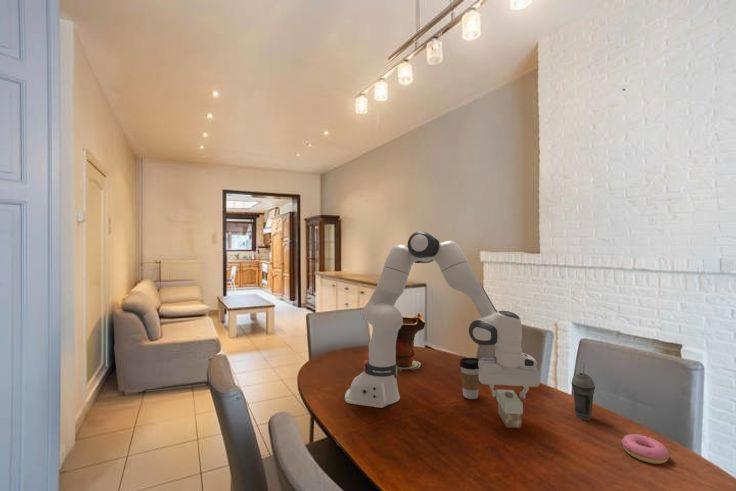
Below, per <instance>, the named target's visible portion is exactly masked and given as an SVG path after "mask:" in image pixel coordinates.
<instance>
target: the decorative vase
mask: <svg viewBox="0 0 736 491" xmlns="http://www.w3.org/2000/svg"><path fill="white" fill-rule="evenodd" d="M402 317H403V323H402V326H401V328H400V329H399V331H398V335H397V340H396V363H397V371H402V370H406V371H409V370H416V369H420V367H421V364H422V363H421V362H419V361H417V360H415V359H414V357H415V354H416V353H415V348H414V346H415V344H414V343H415V337H416V334H418V332H420V331H422V330H424V328H425V326H426V321H425V320H424V317H423V314H422V313H421V312H418V313H417V314H416V316H408V315H407V316H403V315H402Z"/></svg>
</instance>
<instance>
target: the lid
mask: <svg viewBox="0 0 736 491" xmlns="http://www.w3.org/2000/svg"><path fill="white" fill-rule="evenodd" d="M496 391H497V397H496V400H497V403H498V402H499V404H500V406H501V407H502V409H503V411H504V412H505V413H509V414H521V415H523V414H524V408H523V407H524V405H523V404H524V403H523V401H522V400H521V398H520V397H519V396H518V395H517V394H516V392H515V391H514V390H513V389H496Z"/></svg>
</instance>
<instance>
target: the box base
mask: <svg viewBox="0 0 736 491" xmlns="http://www.w3.org/2000/svg"><path fill="white" fill-rule="evenodd" d="M497 406H498V408H497V413H498V415H499V418H500V419H501V421H502V423H503V425H504V426H505V428H508V429H509V428H510V429H521V428H522V414H509V413H505V412H504V411H503V409H502V407H501V406H500V404H499V402H498V401H497Z"/></svg>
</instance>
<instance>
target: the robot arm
mask: <svg viewBox="0 0 736 491" xmlns="http://www.w3.org/2000/svg"><path fill="white" fill-rule="evenodd" d="M432 262H436V264H437V265H438V267H439V268H440V271H441V274H442V276H443V278H444V280H445V282H446V283H447V284H448V286H449V287H450V288H451V289H453V290H456V291H458V292H461V293H463V294H465V295H467V296H468V297H469V298H470V299H471V301H472V303H473V305H474V306H475V308H476V310H477V312H478V313H479V315H480V317H479V318H476V319H474V320H473V321H472V322H470V324H469V326H468V335H469V337H470V339H471V340H472V341H473V343H475V344H477V345H478V346H494V347H495V348H494V352H495V353H494V355H495V356H494V357H493V356H489V357H487V356H482V357H480V358H478V359H479V361H478V367H479V376H478V378H479V383H480V384H481V385H488V387H489V388H490V390H491V396H492V397H493V398H497V389H496V390H494V388H495V386H510V387H511V386H512V387H513V386H514V387H522V388H523V389H522V390H521V391H519V399H524V400H525V399H526V394H527V393H528V391H529V390H530V388H531V387H533V388H537V387H539V386H540V385H541V375H540V371H539V368H538V367H537V365H538V362H537V360H536V359H535V358H534V357H533V356H531V355H529V354H527V353H524V352H523V349H522V340H523V328H522V321H521V317H520V316H519V315H518V314H516V313H515V312H512V311H509V310H499V311H498V310H497V309H496V307H495V306H494V304H493V302H492V301H491V298H490V297H489V295H488V294H487V291H486V290H485V289H484V286H483V285H482V283H481V282H480V281H479V279H478V278H477V276H476V274H475V272H474V271H473V268H472V266H471V265H470V262H469V260H468V258H467V256H466V255H465V253H464V252H463V250H462V249H461V247H460V246H459V244H458V243H457V242H456V241H453V240H445V241H443V242H440V241H439V240H438V239H437V238H436V237H435V236H433V235H432V234H430V233H428V232H426V231H420V230H419V231H415V232H413V233H412V234H411V235H410V236H409V238H408V240H407V245H405V244H395V245H393V246H392V247H391V249H390V250H389V252H388V254H387V257H386V259H385V262H384V263H383V268H382V271H381V273H380V276H379V279H378V282H377V285H376V286H375V289H374V291H373V292H372V294H371V297H370V298H369V300H368V302H366V304H365V305H364V307H363V316H364V318H365V320H366V321H367V323H368V324H370V325H371V327H372V333H371V338H370V341H369V342H368V359H366V360H364V362H363V371H362V372H361V373H360V374H358V375H357V376H355V377H354V378H353V380H352V382H351V385H350V387H349V388H348V389H347V390H346V392H345V394H344V401H345V403H347V404H352V405H359V406H365V407H366V406H367V407H374V408H380V409H382V408H384V407H387V406H388V405H393V404H394V403H397V402H398V401H400V399H401V396H400V393H399V389H398V388H399V387H398V382H397V376H398V370H397V363H396V340H397V335H398V331H399V329H400V328H401V326H402V323H403V317H402V316H403V315H402V313H401V312H400V310H399V309H398V308H397V307H396V306H395V305H396V302H397V301H398V299H399V298H400V297H401V295H403V294H404V291H405V288H406V285H407V282H408V280H409V276H410V272H411V269H412V266H413V265H414V264H428V263H432Z"/></svg>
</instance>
